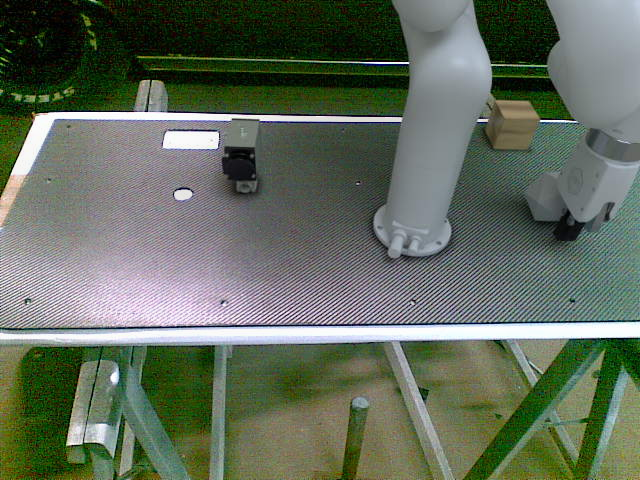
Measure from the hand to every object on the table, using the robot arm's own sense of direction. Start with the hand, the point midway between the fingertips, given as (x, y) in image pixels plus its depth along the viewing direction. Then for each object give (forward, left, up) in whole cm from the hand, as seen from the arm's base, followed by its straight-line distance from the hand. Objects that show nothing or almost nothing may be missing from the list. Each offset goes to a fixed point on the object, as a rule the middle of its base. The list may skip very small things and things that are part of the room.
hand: (563, 237), depth 76 cm
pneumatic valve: (-6, +53, -2) cm, 54 cm away
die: (+6, +2, -2) cm, 7 cm away
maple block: (+28, +10, -1) cm, 30 cm away
